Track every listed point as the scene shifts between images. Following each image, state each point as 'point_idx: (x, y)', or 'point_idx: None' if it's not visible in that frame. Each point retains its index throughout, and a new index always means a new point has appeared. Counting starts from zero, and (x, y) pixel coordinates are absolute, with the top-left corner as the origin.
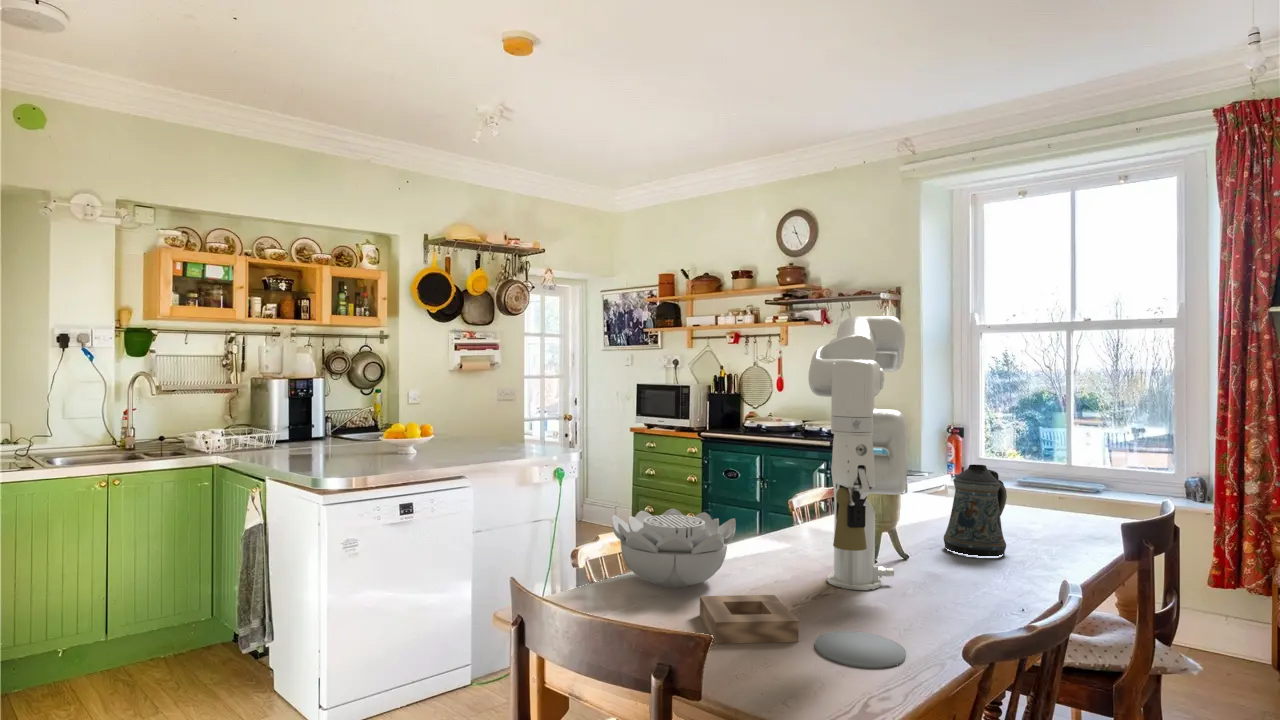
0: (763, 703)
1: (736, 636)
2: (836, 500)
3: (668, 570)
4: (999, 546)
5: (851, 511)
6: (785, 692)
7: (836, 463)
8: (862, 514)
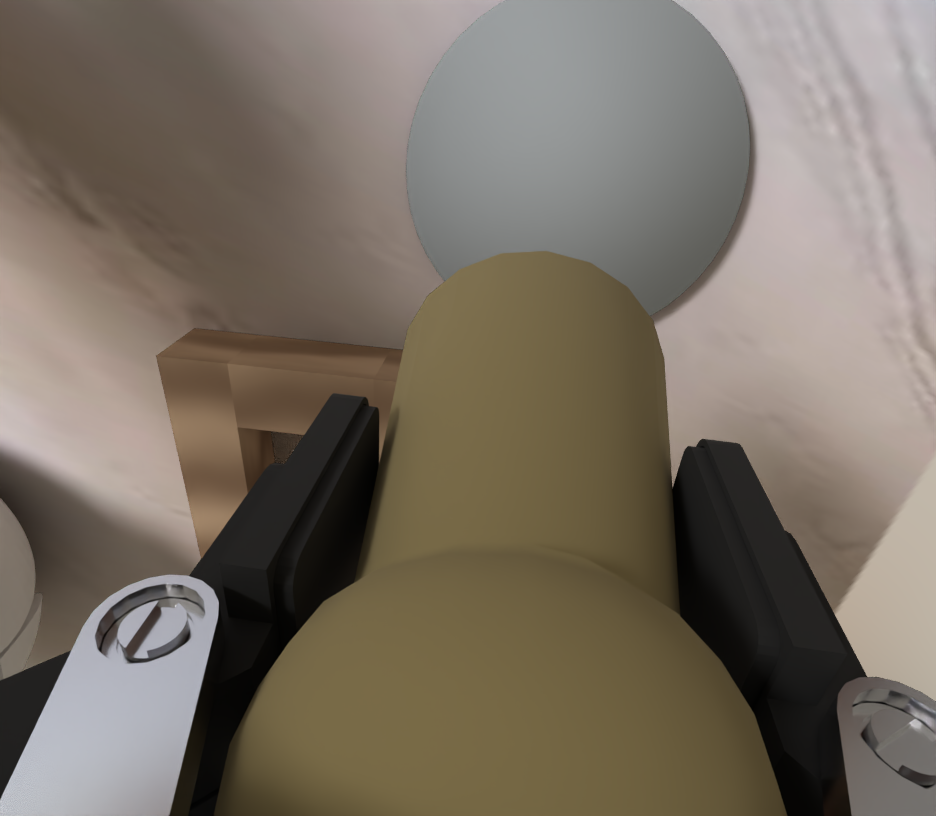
0: (820, 582)
1: None
2: None
3: (35, 622)
4: None
5: None
6: (786, 522)
7: None
8: (824, 604)
